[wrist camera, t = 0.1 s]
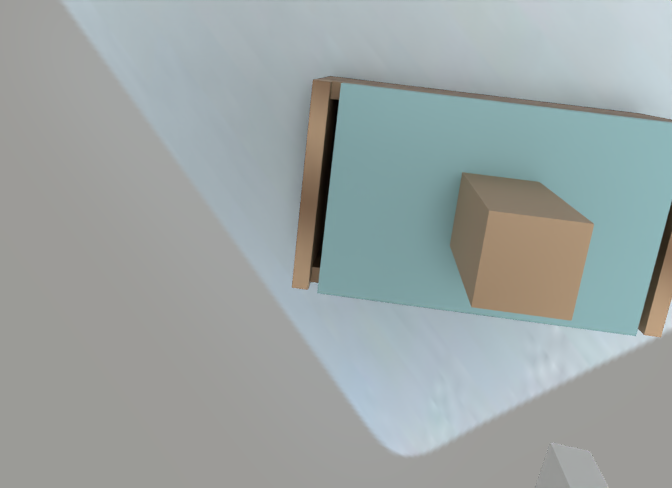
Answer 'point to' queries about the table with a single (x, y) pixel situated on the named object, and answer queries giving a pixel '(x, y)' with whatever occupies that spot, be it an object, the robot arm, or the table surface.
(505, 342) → the table surface
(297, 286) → the box
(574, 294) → the lid
